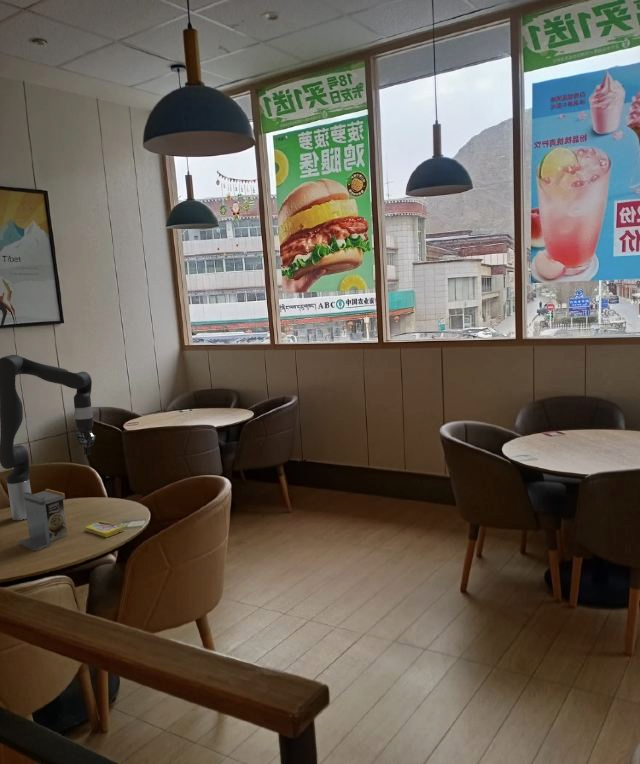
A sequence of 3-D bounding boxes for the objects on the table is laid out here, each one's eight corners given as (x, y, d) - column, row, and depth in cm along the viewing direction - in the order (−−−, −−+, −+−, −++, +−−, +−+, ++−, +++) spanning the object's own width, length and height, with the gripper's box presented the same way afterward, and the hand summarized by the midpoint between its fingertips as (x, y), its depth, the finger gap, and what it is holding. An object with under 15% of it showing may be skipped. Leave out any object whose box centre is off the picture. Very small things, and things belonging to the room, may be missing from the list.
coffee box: (47, 543, 249) (42, 504, 247) (39, 540, 252) (33, 502, 250) (68, 535, 256) (63, 497, 254) (59, 532, 260) (54, 495, 258)
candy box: (123, 526, 255) (105, 533, 249) (124, 530, 256) (106, 538, 249) (101, 519, 266) (84, 526, 259) (102, 524, 266) (85, 531, 260)
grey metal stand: (18, 544, 250) (11, 496, 247) (52, 532, 261) (46, 486, 258) (35, 551, 241) (28, 502, 238) (70, 538, 252) (64, 491, 250)
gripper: (67, 417, 275) (71, 454, 277) (84, 419, 267) (88, 458, 269) (83, 414, 281) (86, 451, 283) (99, 416, 273) (103, 454, 275)
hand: (87, 454), depth 276 cm, fingers closed
